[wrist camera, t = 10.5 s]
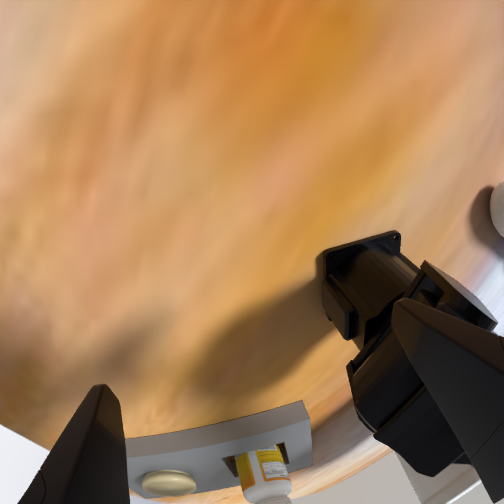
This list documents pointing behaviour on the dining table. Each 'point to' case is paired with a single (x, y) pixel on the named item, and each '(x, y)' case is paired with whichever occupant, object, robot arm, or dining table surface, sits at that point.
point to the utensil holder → (442, 483)
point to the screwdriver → (498, 208)
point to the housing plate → (215, 452)
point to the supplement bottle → (264, 476)
